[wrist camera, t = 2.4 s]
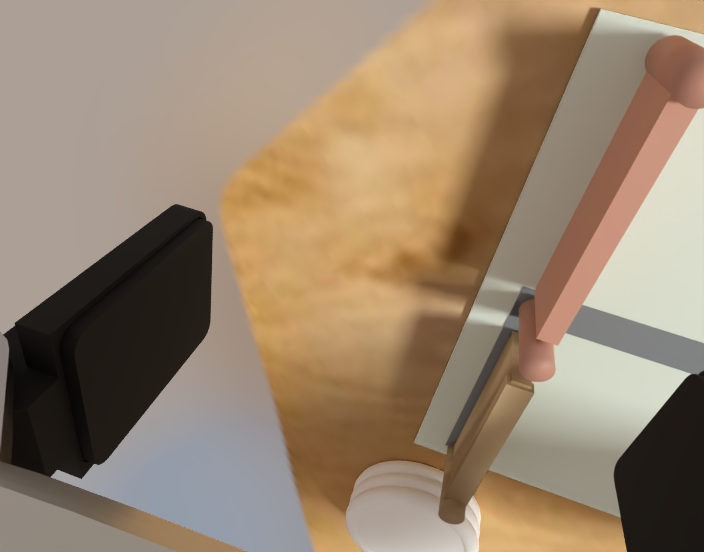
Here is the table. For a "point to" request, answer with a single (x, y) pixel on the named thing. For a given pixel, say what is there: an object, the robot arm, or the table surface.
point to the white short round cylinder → (406, 511)
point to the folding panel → (612, 197)
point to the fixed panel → (484, 432)
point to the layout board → (604, 298)
